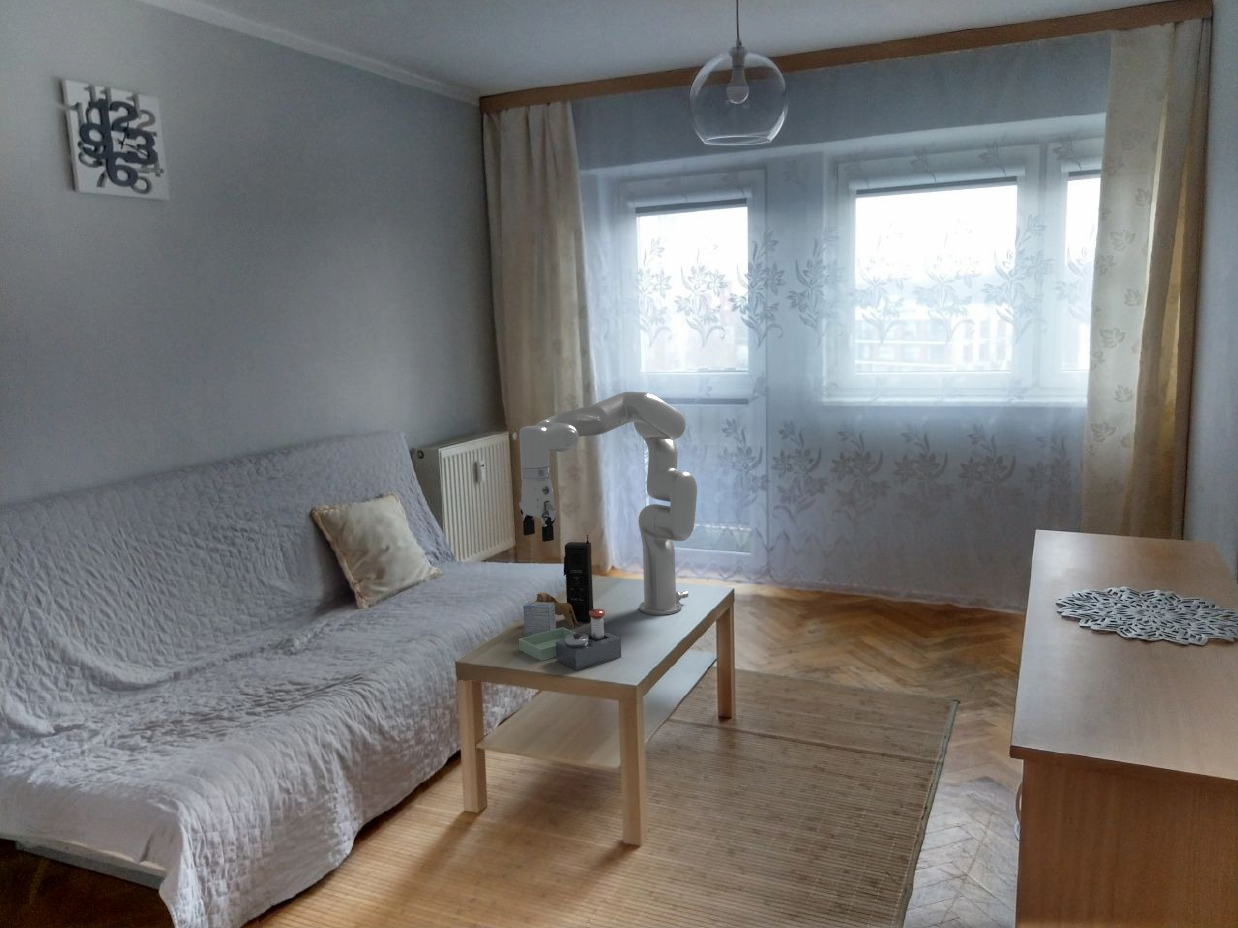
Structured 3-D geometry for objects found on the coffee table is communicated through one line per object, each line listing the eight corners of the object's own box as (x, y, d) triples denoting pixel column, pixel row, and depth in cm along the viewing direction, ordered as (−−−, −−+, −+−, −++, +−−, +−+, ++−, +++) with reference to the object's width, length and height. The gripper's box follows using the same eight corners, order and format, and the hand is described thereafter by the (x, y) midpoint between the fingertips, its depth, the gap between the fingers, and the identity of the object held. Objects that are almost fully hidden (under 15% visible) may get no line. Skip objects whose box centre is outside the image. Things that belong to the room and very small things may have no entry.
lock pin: (600, 652, 238) (598, 607, 236) (609, 656, 234) (607, 611, 233) (587, 655, 235) (586, 611, 233) (596, 659, 232) (595, 614, 230)
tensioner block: (601, 647, 241) (600, 621, 240) (621, 656, 234) (620, 629, 232) (556, 660, 232) (555, 633, 231) (576, 670, 225) (575, 642, 224)
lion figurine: (532, 624, 262) (531, 594, 261) (542, 618, 267) (540, 589, 266) (577, 630, 256) (576, 599, 254) (586, 624, 261) (585, 593, 259)
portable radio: (563, 622, 263) (559, 537, 259) (569, 616, 268) (565, 533, 265) (589, 623, 261) (586, 538, 257) (594, 617, 267) (591, 533, 263)
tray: (563, 637, 250) (563, 627, 249) (586, 648, 241) (585, 637, 240) (519, 649, 241) (518, 638, 241) (541, 660, 233) (540, 649, 232)
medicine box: (556, 632, 255) (555, 602, 253) (551, 637, 250) (549, 607, 249) (530, 630, 257) (528, 601, 255) (524, 635, 252) (522, 605, 251)
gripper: (565, 475, 232) (568, 541, 234) (531, 468, 246) (534, 530, 248) (540, 478, 228) (542, 545, 230) (507, 471, 242) (510, 534, 244)
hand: (538, 537), depth 239 cm, fingers open, 9 cm apart
